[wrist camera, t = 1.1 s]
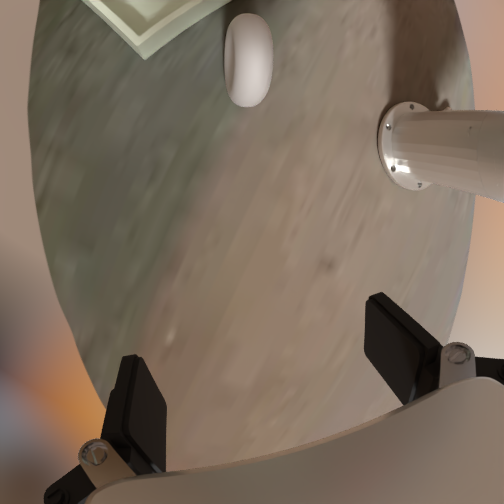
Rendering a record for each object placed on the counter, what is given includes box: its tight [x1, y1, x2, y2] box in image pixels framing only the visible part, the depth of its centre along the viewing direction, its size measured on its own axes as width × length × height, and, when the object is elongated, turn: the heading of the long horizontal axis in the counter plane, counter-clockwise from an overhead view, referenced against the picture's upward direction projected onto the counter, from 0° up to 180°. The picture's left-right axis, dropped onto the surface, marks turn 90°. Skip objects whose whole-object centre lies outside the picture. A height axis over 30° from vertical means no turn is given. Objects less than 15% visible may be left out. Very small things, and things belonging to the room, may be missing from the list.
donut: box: [224, 13, 274, 107], centre depth 24 cm, size 10×4×10 cm, turn 3°
